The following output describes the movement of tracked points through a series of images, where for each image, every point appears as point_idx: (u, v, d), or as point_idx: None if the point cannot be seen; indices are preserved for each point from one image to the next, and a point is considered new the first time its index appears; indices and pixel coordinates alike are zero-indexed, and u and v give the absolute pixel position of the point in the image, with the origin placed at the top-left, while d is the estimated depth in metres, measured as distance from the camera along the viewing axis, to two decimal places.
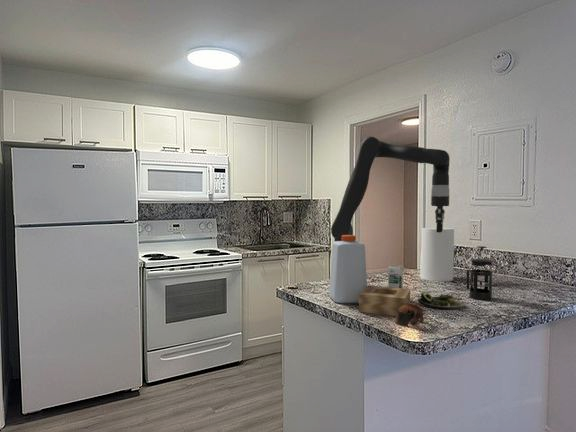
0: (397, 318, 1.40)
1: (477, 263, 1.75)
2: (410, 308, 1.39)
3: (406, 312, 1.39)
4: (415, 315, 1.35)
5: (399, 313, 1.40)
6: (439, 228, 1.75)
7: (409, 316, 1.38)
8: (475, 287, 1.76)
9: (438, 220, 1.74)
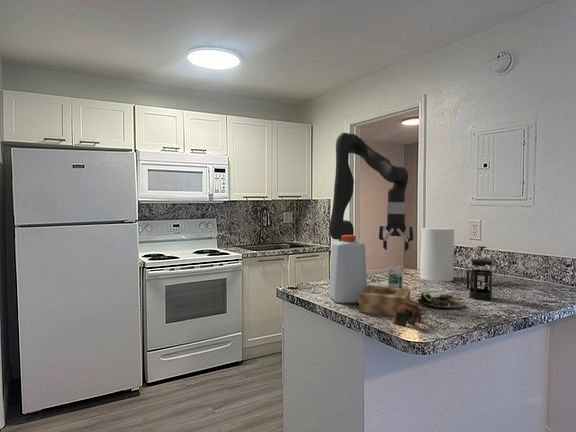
0: (395, 318, 1.41)
1: (477, 263, 1.75)
2: (408, 308, 1.39)
3: (404, 312, 1.39)
4: (413, 315, 1.35)
5: (397, 313, 1.40)
6: (408, 246, 1.72)
7: (407, 316, 1.38)
8: (475, 287, 1.76)
9: (412, 238, 1.71)
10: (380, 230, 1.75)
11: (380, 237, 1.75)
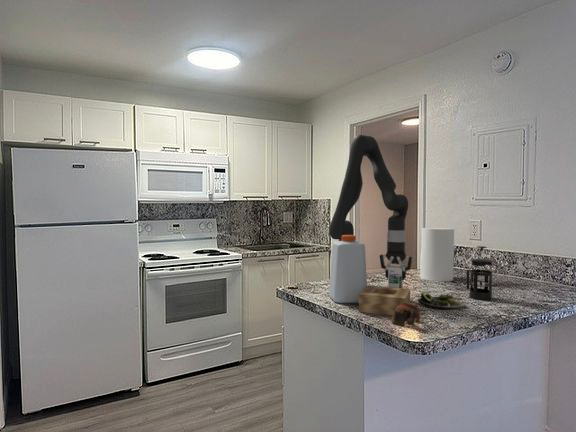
0: (394, 318, 1.41)
1: (477, 263, 1.75)
2: (406, 308, 1.39)
3: (402, 312, 1.39)
4: (411, 315, 1.35)
5: (395, 313, 1.40)
6: (405, 275, 1.73)
7: (405, 316, 1.38)
8: (475, 287, 1.76)
9: (409, 267, 1.72)
10: (381, 259, 1.76)
11: (382, 266, 1.75)
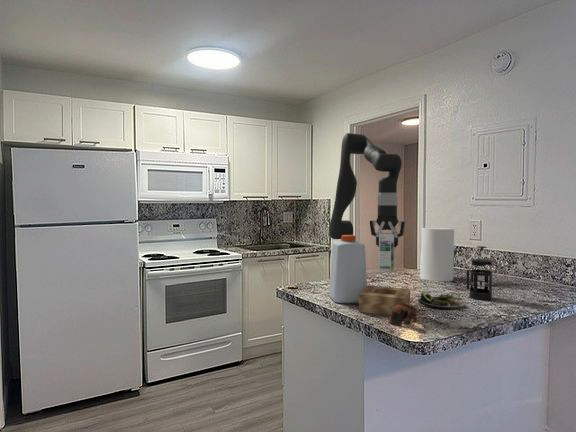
0: (391, 318, 1.41)
1: (477, 263, 1.75)
2: (403, 308, 1.39)
3: (400, 312, 1.39)
4: (409, 315, 1.35)
5: (393, 313, 1.41)
6: (397, 242, 1.58)
7: (403, 316, 1.38)
8: (475, 287, 1.76)
9: None
10: (371, 225, 1.60)
11: (373, 233, 1.60)
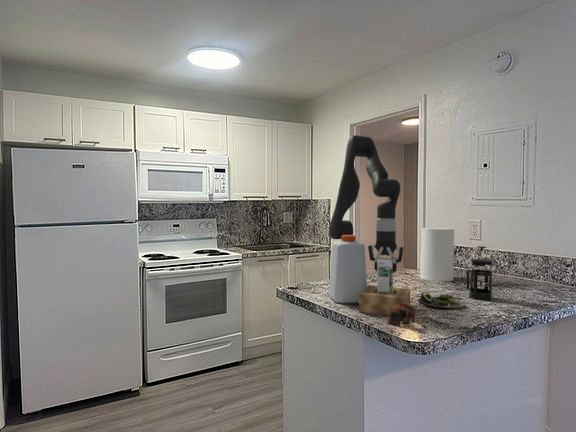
0: (389, 318, 1.41)
1: (477, 263, 1.75)
2: (401, 308, 1.39)
3: (398, 312, 1.39)
4: (407, 315, 1.35)
5: (391, 313, 1.41)
6: (396, 268, 1.58)
7: (401, 316, 1.38)
8: (475, 287, 1.76)
9: (400, 259, 1.57)
10: (369, 250, 1.60)
11: (371, 258, 1.60)
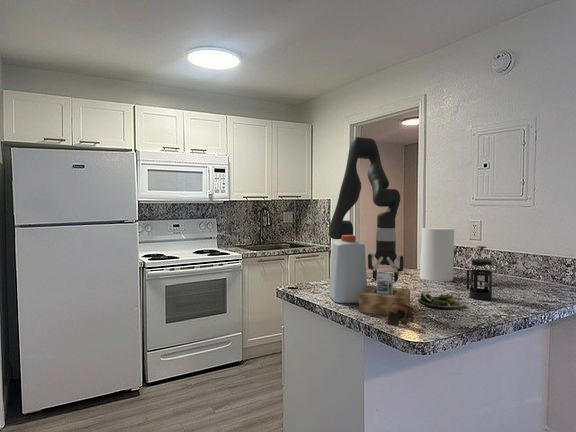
0: (387, 318, 1.41)
1: (477, 263, 1.75)
2: (400, 308, 1.39)
3: (396, 312, 1.39)
4: (405, 315, 1.35)
5: (389, 313, 1.41)
6: (397, 277, 1.58)
7: (399, 316, 1.38)
8: (475, 287, 1.76)
9: (402, 268, 1.57)
10: (369, 259, 1.61)
11: (369, 266, 1.61)
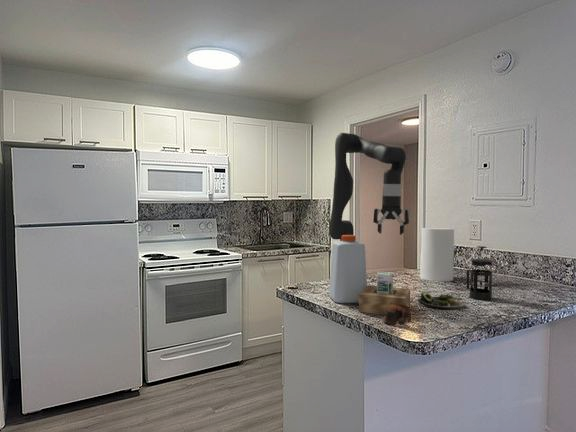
0: (385, 318, 1.41)
1: (477, 263, 1.75)
2: (398, 308, 1.40)
3: (394, 312, 1.39)
4: (403, 314, 1.36)
5: (387, 313, 1.41)
6: (403, 230, 1.66)
7: (397, 315, 1.38)
8: (475, 287, 1.76)
9: (408, 222, 1.65)
10: (375, 213, 1.69)
11: (374, 220, 1.69)
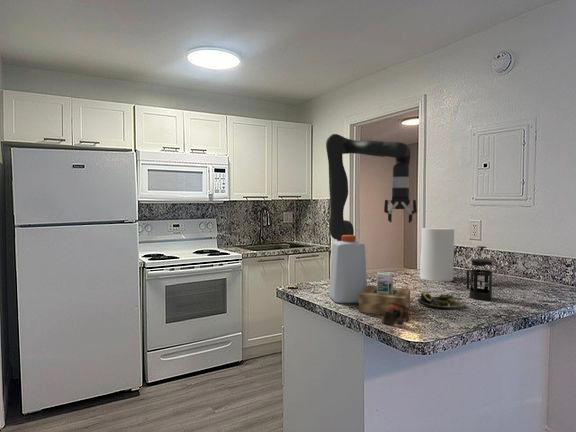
0: (383, 318, 1.41)
1: (477, 263, 1.75)
2: (396, 308, 1.40)
3: (392, 311, 1.39)
4: (401, 314, 1.36)
5: (385, 313, 1.41)
6: None
7: (395, 315, 1.38)
8: (475, 287, 1.76)
9: (416, 211, 1.82)
10: (385, 204, 1.86)
11: (385, 210, 1.86)
